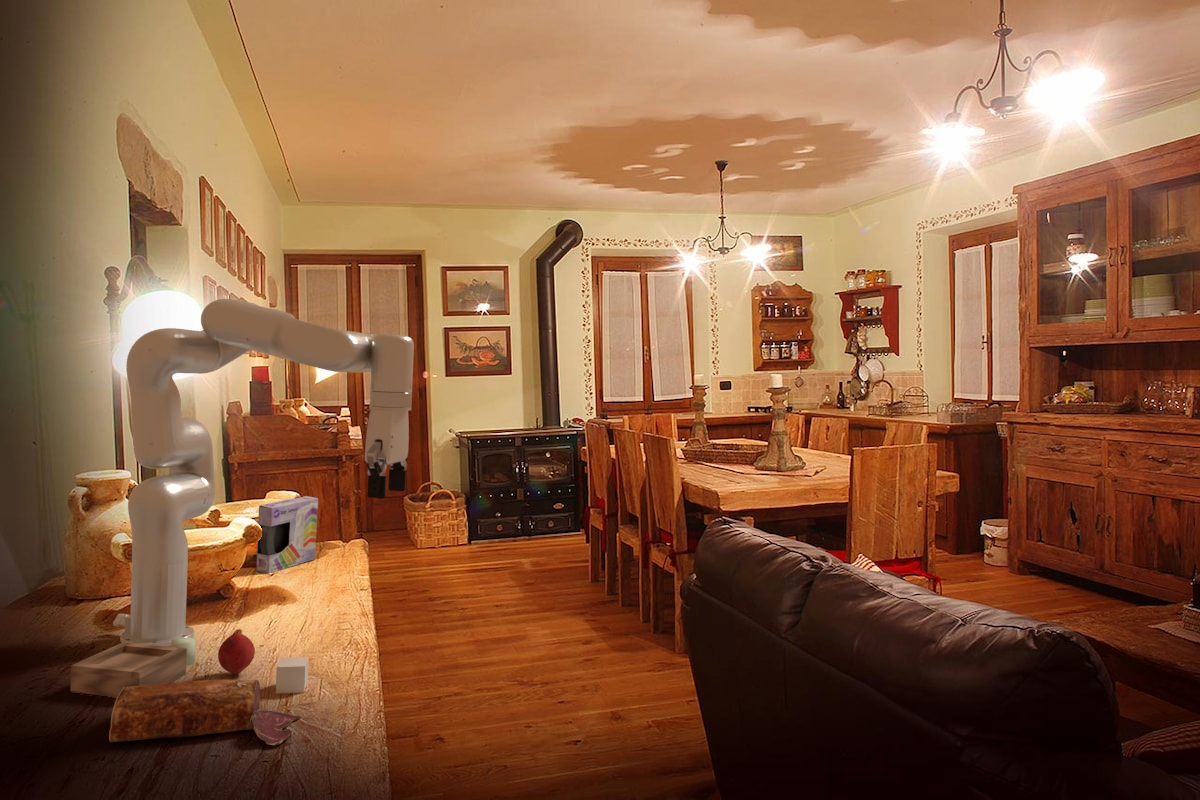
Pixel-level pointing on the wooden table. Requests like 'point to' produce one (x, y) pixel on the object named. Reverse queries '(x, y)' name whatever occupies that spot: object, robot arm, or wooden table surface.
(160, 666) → the shallow wooden tray
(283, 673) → the grey ceramic cube
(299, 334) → the robot arm
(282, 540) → the cake pan box
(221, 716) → the cured meat
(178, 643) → the sage painted capsule
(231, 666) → the red fruit
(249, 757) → the wooden table surface
